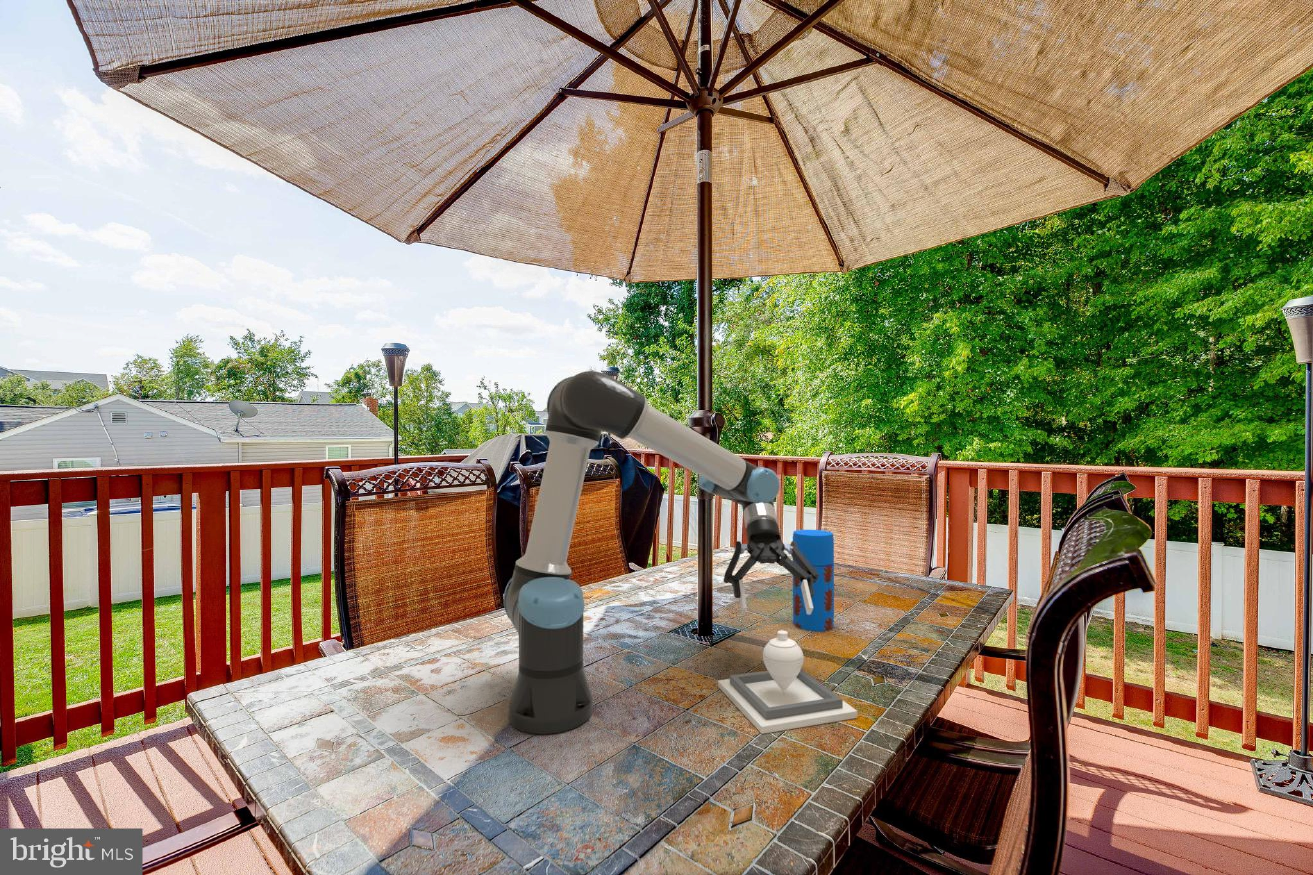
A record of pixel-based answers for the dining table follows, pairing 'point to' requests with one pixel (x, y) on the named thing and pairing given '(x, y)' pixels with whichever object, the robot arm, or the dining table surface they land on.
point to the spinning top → (783, 659)
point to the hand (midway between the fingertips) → (777, 611)
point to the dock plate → (784, 701)
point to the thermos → (821, 557)
